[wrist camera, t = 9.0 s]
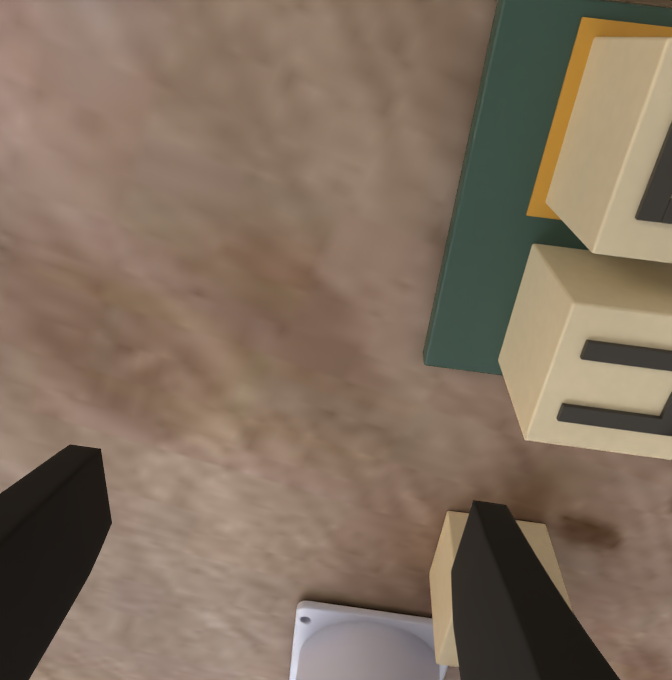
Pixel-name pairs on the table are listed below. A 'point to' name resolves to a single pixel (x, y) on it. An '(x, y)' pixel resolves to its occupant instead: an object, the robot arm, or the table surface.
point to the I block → (442, 578)
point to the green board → (516, 166)
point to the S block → (620, 151)
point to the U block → (592, 352)
